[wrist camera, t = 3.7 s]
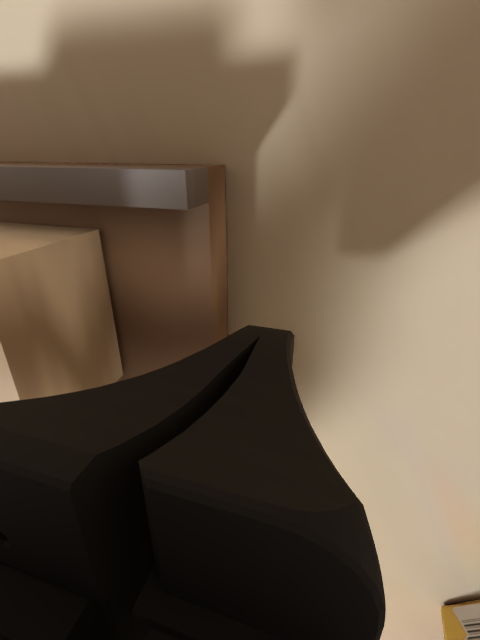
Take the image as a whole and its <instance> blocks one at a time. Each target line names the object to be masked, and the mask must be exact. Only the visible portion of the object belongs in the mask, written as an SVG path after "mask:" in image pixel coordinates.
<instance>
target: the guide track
mask: <svg viewBox="0 0 480 640" xmlns="http://www.w3.org/2000/svg"><path fill="white" fill-rule="evenodd" d="M0 222H7V223H20V224H34V225H47V226H61V227H74V228H88V229H99V235H100V241H101V246H102V252H103V258H104V264H105V270H106V276H107V282H108V288H109V294H110V299H111V305H112V311H113V317H114V323H115V329H116V335H117V341H118V347H119V352H120V358H121V364H122V370H123V376H122V377H121V378H120V379H119V380H118V381H116V382H119V381H122V380H126V379H130V378H133V377H137V376H140V375H143V374H146V373H149V372H152V371H154V370H157V369H160V368H163V367H165V366H168V365H170V364H173V363H175V362H177V361H180V360H182V359H184V358H186V357H188V356H190V355H192V354H194V353H196V352H199V351H201V350H203V349H205V348H207V347H209V346H211V345H212V344H214V343H216V342H218V341H220V340H222V339H224V338H226V337H227V336H228V309H227V253H226V197H225V165H179V164H105V163H31V162H0Z"/></svg>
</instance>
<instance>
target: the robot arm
mask: <svg viewBox="0 0 480 640" xmlns="http://www.w3.org/2000/svg"><path fill="white" fill-rule="evenodd" d="M293 347H294V334H293V333H292V332H291V331H286V330H279V329H272V328H265V327H258V326H252V325H249V326H246V327H244V328H242V329H240V330H238V331H236V332H235V333H233V334H231V335H229V336H227V337H226V338H224V339H222V340H220V341H218V342H216V343H214V344H212V345H211V346H209V347H207V348H205V349H203V350H201V351H199V352H196V353H194V354H192V355H190V356H188V357H186V358H184V359H182V360H180V361H177V362H175V363H173V364H170V365H168V366H165V367H163V368H160V369H157V370H154V371H152V372H149V373H146V374H143V375H140V376H137V377H133V378H130V379H126V380H122V381H119V382H115V383H111V384H108V385H104V386H100V387H96V388H91V389H86V390H82V391H77V392H71V393H66V394H60V395H54V396H48V397H41V398H33V399H25V400H17V401H8V402H0V640H380V637H381V634H382V630H383V627H384V622H385V610H386V608H385V595H384V588H383V581H382V575H381V570H380V565H379V560H378V556H377V552H376V548H375V544H374V540H373V537H372V533H371V530H370V526H369V523H368V520H367V516H366V513H365V510H364V507H363V504H362V503H361V502H360V500H359V499H358V498H357V497H356V495H355V494H354V493H353V491H352V490H351V489H350V488H349V486H348V485H347V483H346V482H345V481H344V479H343V478H342V476H341V475H340V474H339V472H338V471H337V469H336V468H335V466H334V465H333V463H332V462H331V460H330V458H329V457H328V455H327V454H326V452H325V450H324V449H323V447H322V445H321V443H320V441H319V439H318V438H317V436H316V434H315V432H314V430H313V428H312V427H311V425H310V422H309V420H308V418H307V415H306V413H305V411H304V408H303V406H302V403H301V400H300V397H299V394H298V391H297V388H296V384H295V380H294V375H293V370H292V360H293Z"/></svg>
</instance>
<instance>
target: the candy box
mask: <svg viewBox="0 0 480 640" xmlns="http://www.w3.org/2000/svg"><path fill="white" fill-rule="evenodd" d="M441 614H442V622H443V629H444V638H445V640H480V600H475V601H469V602H463V603H458V604H453V605H446V606H442V607H441Z"/></svg>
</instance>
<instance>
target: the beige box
mask: <svg viewBox="0 0 480 640" xmlns="http://www.w3.org/2000/svg"><path fill="white" fill-rule="evenodd" d="M122 376H123V370H122V364H121V358H120V352H119V347H118V341H117V335H116V329H115V323H114V317H113V311H112V305H111V299H110V294H109V288H108V282H107V276H106V270H105V264H104V258H103V252H102V246H101V241H100V235H99V229H88V228H74V227H61V226H47V225H34V224H20V223H7V222H0V402H8V401H17V400H25V399H33V398H41V397H48V396H54V395H60V394H66V393H71V392H77V391H82V390H86V389H91V388H96V387H100V386H104V385H108V384H111V383H115V382H116V381H118V380H119V379H120V378H121V377H122Z"/></svg>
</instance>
